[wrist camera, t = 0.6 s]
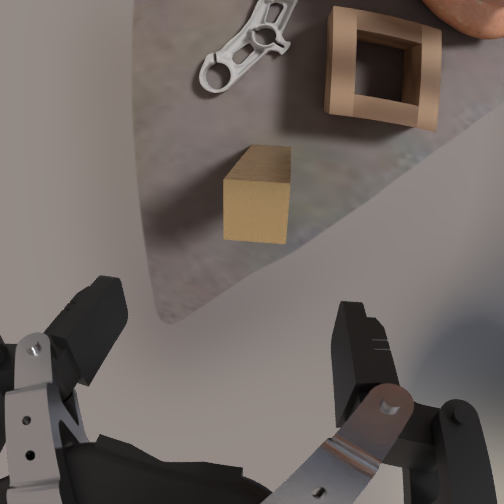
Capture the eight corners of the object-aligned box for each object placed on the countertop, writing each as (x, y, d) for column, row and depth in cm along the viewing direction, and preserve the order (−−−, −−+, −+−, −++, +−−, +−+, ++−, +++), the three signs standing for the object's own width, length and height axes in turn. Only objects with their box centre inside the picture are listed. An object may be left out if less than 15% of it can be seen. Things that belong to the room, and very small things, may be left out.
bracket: (170, 53, 26) (287, -37, 20) (176, 55, 28) (287, -30, 22) (217, 104, 28) (339, 15, 22) (222, 103, 30) (337, 19, 24)
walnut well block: (327, 18, 24) (333, 5, 19) (421, 37, 23) (441, 30, 18) (323, 111, 28) (329, 113, 24) (416, 125, 28) (435, 132, 23)
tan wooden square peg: (251, 144, 31) (223, 179, 19) (291, 147, 31) (290, 183, 18) (250, 181, 33) (223, 239, 21) (288, 184, 33) (285, 244, 20)
